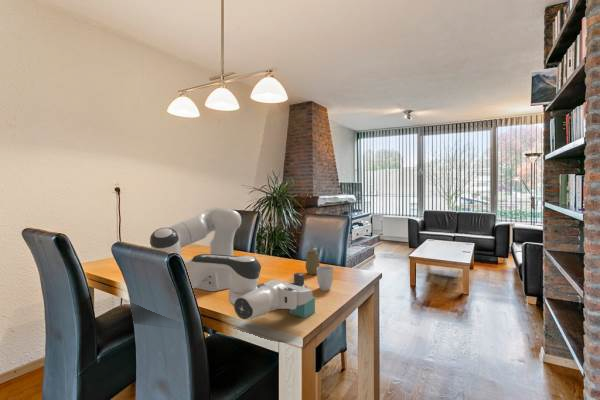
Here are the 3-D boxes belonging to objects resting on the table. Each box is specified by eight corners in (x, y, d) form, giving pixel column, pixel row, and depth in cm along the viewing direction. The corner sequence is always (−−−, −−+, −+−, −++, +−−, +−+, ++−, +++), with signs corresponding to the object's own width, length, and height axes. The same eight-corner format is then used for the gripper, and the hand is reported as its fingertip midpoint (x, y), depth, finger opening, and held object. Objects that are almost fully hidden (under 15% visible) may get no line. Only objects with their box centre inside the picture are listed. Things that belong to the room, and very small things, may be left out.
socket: (289, 313, 118) (289, 298, 118) (300, 307, 123) (300, 293, 123) (304, 318, 114) (304, 302, 113) (314, 312, 119) (314, 297, 118)
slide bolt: (272, 303, 126) (271, 269, 125) (278, 300, 129) (278, 267, 129) (303, 313, 115) (303, 277, 115) (310, 310, 119) (310, 274, 118)
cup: (336, 287, 147) (336, 267, 147) (329, 292, 140) (329, 271, 140) (321, 284, 152) (321, 265, 151) (313, 289, 145) (313, 269, 144)
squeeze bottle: (308, 276, 166) (307, 243, 165) (303, 272, 174) (303, 241, 173) (321, 274, 168) (321, 242, 167) (316, 271, 176) (316, 240, 175)
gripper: (256, 297, 116) (281, 287, 126) (297, 310, 103) (321, 299, 113) (256, 280, 115) (280, 272, 126) (297, 292, 102) (320, 282, 113)
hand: (300, 285), depth 120 cm, fingers closed on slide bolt, 4 cm apart
